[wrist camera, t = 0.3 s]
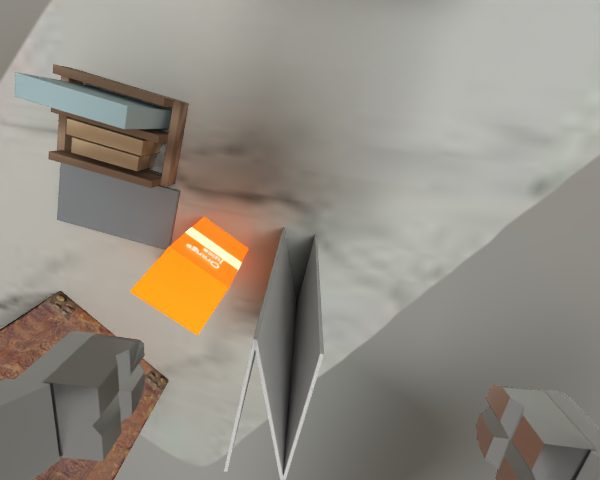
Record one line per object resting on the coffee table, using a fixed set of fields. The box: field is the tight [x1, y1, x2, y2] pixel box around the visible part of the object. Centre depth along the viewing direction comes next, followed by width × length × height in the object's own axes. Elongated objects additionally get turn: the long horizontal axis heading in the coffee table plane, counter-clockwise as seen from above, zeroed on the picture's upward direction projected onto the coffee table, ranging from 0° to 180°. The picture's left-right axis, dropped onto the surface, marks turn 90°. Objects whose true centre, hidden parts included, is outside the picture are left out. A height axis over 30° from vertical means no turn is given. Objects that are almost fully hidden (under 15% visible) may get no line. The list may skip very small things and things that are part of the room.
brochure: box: [224, 227, 324, 480], centre depth 42 cm, size 14×6×30 cm, turn 167°
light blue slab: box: [15, 72, 172, 129], centre depth 43 cm, size 2×12×13 cm, turn 74°
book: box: [0, 291, 168, 480], centre depth 49 cm, size 25×9×30 cm, turn 42°
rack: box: [49, 64, 188, 188], centre depth 47 cm, size 12×16×6 cm
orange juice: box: [130, 217, 248, 335], centre depth 46 cm, size 8×9×20 cm
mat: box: [57, 163, 180, 250], centre depth 54 cm, size 10×18×1 cm, turn 74°
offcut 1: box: [66, 118, 161, 156], centre depth 48 cm, size 2×10×6 cm, turn 74°
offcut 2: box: [71, 137, 156, 171], centre depth 49 cm, size 2×9×6 cm, turn 74°
